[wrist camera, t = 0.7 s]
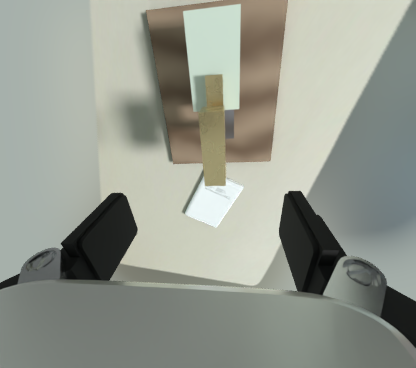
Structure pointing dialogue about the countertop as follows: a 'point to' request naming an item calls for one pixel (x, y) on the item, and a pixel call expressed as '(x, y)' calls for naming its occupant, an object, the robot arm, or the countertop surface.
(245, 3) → the base
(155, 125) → the countertop surface
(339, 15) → the countertop surface
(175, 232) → the countertop surface
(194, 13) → the mint green block
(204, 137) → the key
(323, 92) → the countertop surface
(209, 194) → the external hard drive
